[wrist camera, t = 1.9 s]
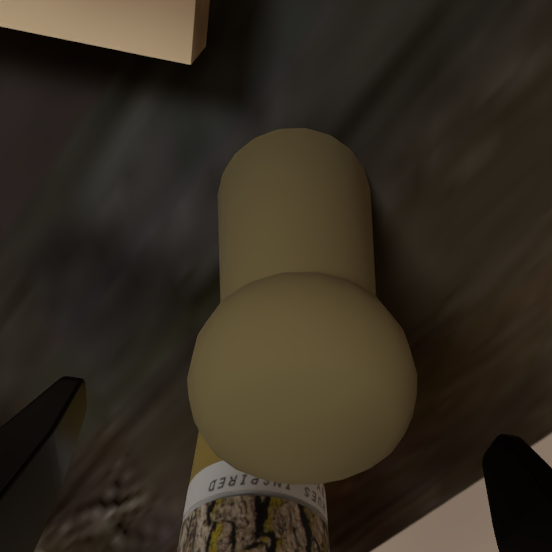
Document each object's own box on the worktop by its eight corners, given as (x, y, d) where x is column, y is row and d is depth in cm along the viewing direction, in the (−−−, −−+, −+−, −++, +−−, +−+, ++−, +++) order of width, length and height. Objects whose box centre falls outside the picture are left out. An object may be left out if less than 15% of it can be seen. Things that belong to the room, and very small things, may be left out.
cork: (221, 117, 17) (145, 316, 8) (387, 137, 17) (507, 351, 8) (214, 259, 20) (158, 512, 11) (353, 273, 20) (408, 530, 11)
